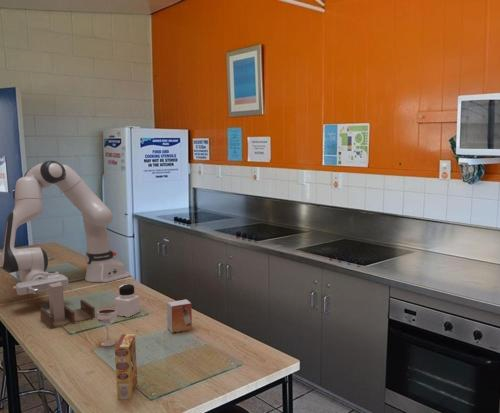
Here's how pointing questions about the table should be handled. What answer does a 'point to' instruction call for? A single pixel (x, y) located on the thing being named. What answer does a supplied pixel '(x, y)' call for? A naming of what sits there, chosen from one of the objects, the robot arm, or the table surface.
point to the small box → (179, 316)
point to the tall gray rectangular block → (56, 301)
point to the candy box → (126, 366)
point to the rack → (69, 315)
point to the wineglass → (107, 321)
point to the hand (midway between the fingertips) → (48, 289)
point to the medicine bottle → (127, 301)
